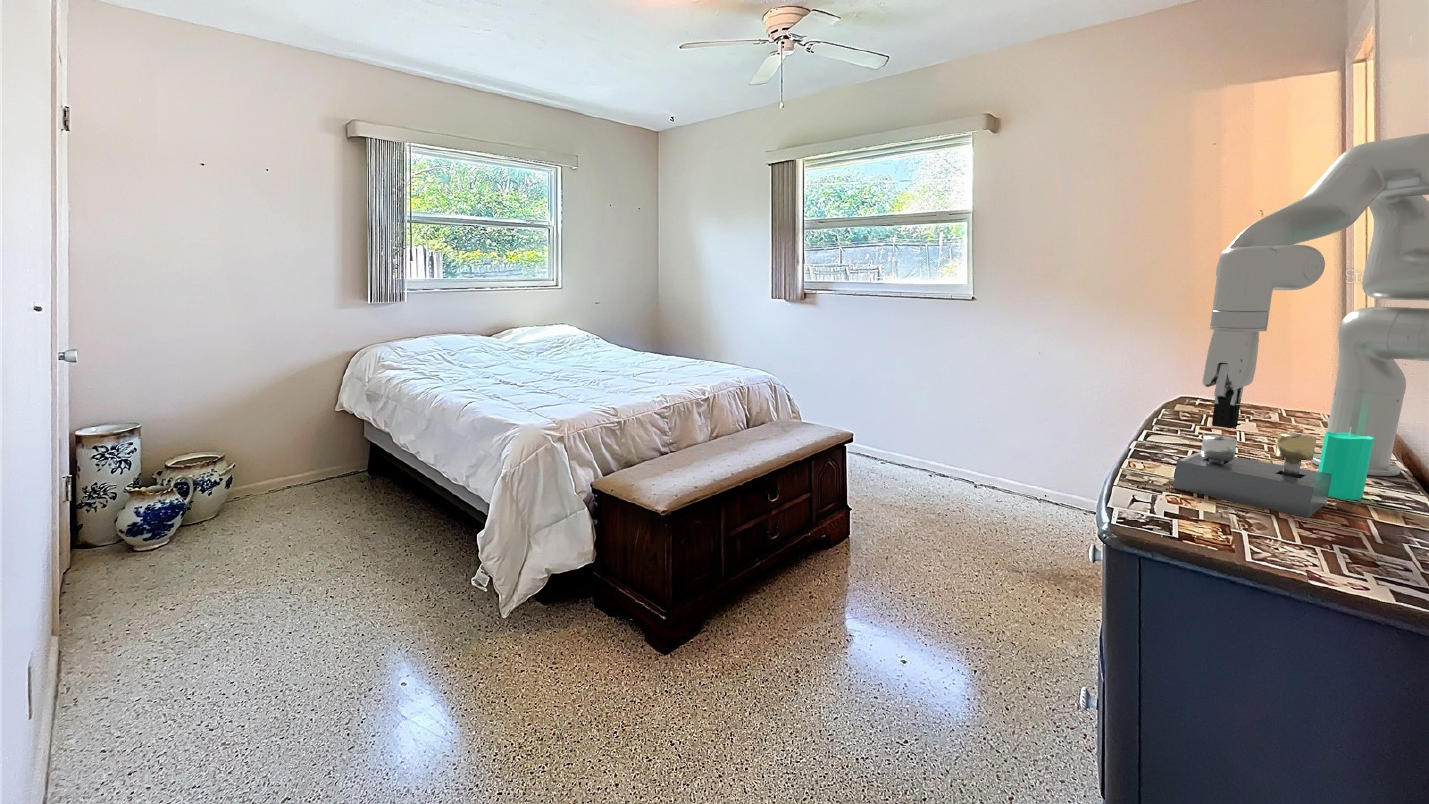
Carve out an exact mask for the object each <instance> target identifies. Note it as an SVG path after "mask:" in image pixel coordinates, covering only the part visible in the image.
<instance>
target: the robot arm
mask: <svg viewBox="0 0 1429 804" xmlns="http://www.w3.org/2000/svg"><path fill="white" fill-rule="evenodd" d="M1424 196H1429V133H1419V134H1415V135H1414V134H1412V135H1408V136H1407V135H1406V136H1400V137H1393V138H1387V139H1381V140H1376V141H1375V140H1374V141H1370V142H1365V143H1361V144H1358V145H1355V146H1353V147H1351V148H1349V149H1347V150H1345V151H1344V152H1343V153H1342V154H1341V155H1340V156H1338V158H1337V159H1336V160H1335V162H1333V163H1332V164H1331V165H1330V167H1329V168H1328V169H1327V170H1326V171H1325V172H1324V173H1323V175H1322V176H1321V177H1320V178H1319V179H1317V181H1316V183H1314V184H1313V186H1312V187H1311V188H1310V189H1309V190H1308V191H1307V193H1306V194H1305V195H1304V196H1303V197H1301V198H1300V199H1298V200H1297V201H1294V202H1292V203H1290V204H1287V205H1286V206H1284V207H1282V208H1280V209H1278V210H1276V211H1274V212H1273V213H1270V214H1268V215H1266V216H1264V217H1263V218H1260V219H1258V220H1257V221H1255V222H1253V223H1252V224H1250V225H1248V226H1247V228H1245V229H1244V230H1242V232H1240V233H1239V234H1238V235H1237V236H1236V237H1235V239H1233V241H1232V242H1231V243H1230V244H1229V245H1228V246H1227V248H1226V249H1224V250H1223V251H1222V252H1220V253H1221V254H1220V256H1219V259H1218V261H1217V265H1216V267H1215V268H1216V270H1215V276H1216V279H1215V286H1214V287H1215V288H1214V295H1213V302H1212V310H1211V317H1210V318H1211V319H1210V326H1209V330H1211V331H1213V332H1212V335H1211V338H1210V341H1209V346H1208V349H1207V355H1206V359H1205V361H1206V362H1205V366H1204V371H1203V375H1202V376H1203V377H1202V385H1203V387H1205V388H1209V387H1213V386H1215V389H1214V393H1213V395H1214V405H1213V412H1212V419H1211V425H1212V427H1216V428H1217V427H1218V428H1225V429H1235V428H1237V427H1238V424H1239V423H1238V422H1239V415H1240V409H1241V401H1242V396H1243V391H1244V387H1246V386H1248V385H1249V386H1250V385H1251V384H1252V383H1253V381H1254V378H1255V374H1256V367H1257V361H1258V351H1259V342H1260V332H1267V331H1268V325H1269V318H1270V311H1271V304H1272V299H1273V298H1272V296H1273V291H1297V290H1302V289H1305V288H1308V287H1310V286H1312V285H1313V284H1315V283H1316V282H1318V280H1320V278H1321V277H1322V275H1323V274H1324V271H1325V268H1326V260H1325V257H1324V255H1323V254H1322V253H1321V251H1320V250H1319V249H1317V248H1316V247H1313V246H1310V245H1305V244H1300V243H1305V242H1309V241H1312V240H1316V239H1319V238H1323V237H1327V236H1329V235H1332V234H1335V233H1338V232H1340V231H1343V230H1345V229H1347V228H1349V227H1350V226H1352V225H1353V224H1354V223H1355V222H1356V221H1357V220H1358V219H1359V218H1360V217H1361V215H1362V214H1363V213H1364V211H1365V212H1366V210H1367V208H1369V210H1370V212H1371V215H1372V218H1373V224H1374V225H1373V226H1374V227H1373V233H1372V238H1371V241H1370V246H1369V251H1368V254H1367V259H1366V263H1365V265H1364V266H1365V267H1364V271H1363V276H1362V282H1361V285H1362V291H1363V293H1364V294H1366V296H1368V297H1370V298H1374V299H1378V300H1379V299H1380V300H1390V301H1393V300H1394V301H1429V200H1428V199H1427V198H1425V197H1424ZM1337 335H1338V337H1337V339H1338V352H1339V353H1338V354H1339V355H1338V356H1339V357H1338V358H1339V359H1338V367H1337V368H1338V369H1337V373H1336V374H1337V375H1336V381H1335V387H1334V393H1333V397H1332V402H1331V408H1330V414H1329V418H1328V423H1327V429H1326V432H1333V433H1349V432H1350V427H1352V428H1351V434H1354V435H1357V436H1370V437H1373V438H1374V443H1373V448H1372V453H1371V458H1370V463H1369V468H1368V473H1367V476H1374V477H1375V476H1377V477H1394V476H1398V475H1400V474H1401V467H1400V466H1398V465H1396V464H1393V463H1391V459H1392V455H1393V449H1394V446H1395V441H1396V435H1397V430H1398V427H1399V421H1400V416H1401V412H1402V411H1401V410H1402V407H1403V402H1404V397H1405V394H1406V388H1407V379H1406V376H1405V374H1404V372H1403V370H1402V369H1401V368H1400V366H1399V365H1398V363H1397V362H1396V360H1407V361H1416V362H1417V361H1419V362H1429V307H1428V308H1427V307H1409V306H1408V307H1407V306H1405V307H1404V306H1403V307H1402V306H1370V307H1362V308H1359V309H1355V310H1353V311H1351V312H1349V313H1348V314H1346V315H1345V316H1344V317H1343V319H1342V320H1341V322H1340V323H1339V326H1338V334H1337ZM1320 458H1321V453H1314V456H1313V460H1310V462H1311V463H1313V464H1314V465H1317V466H1319V463H1320Z"/></svg>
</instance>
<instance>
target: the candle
mask: <svg viewBox="0 0 1429 804" xmlns="http://www.w3.org/2000/svg"><path fill="white" fill-rule="evenodd" d="M1351 428H1352V427H1350V432H1349V433H1333V432H1327V431H1326V432H1325V433H1324V437H1323V442H1322V447H1321V448H1322V449H1321V452H1320V454H1321V458H1320V463H1319V465H1318V472H1324V473H1329V474H1332V478H1331V484H1330V489H1329V494H1328V497H1331V498H1336V499H1341V500H1351V501H1354V500H1356V501H1357V500H1359V501H1360V500H1361V498H1362V499H1363V497H1364V492H1365V487H1366V482H1367V477H1368V475H1367V473H1368V468H1369V463H1370V458H1371V453H1372V448H1373V443H1374V438H1373V437H1370V436H1357V435H1354V434H1351Z"/></svg>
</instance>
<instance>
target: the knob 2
mask: <svg viewBox="0 0 1429 804" xmlns="http://www.w3.org/2000/svg"><path fill="white" fill-rule="evenodd" d="M1276 441H1277V442H1276V446H1275V452H1274V455H1275V456H1277V457H1280V458H1284V462H1283V465H1284V467H1283V472H1282V475H1285V476H1290V477H1296V478H1298V476H1299V471H1300V468H1301V466H1302V465H1301V464H1302V461H1311V460H1313V456H1314V455H1315V449H1316V444H1317V437H1316V436H1313V435H1309V434H1303V433H1298V432H1297V433H1295V432H1279V433H1278V436H1277V440H1276Z"/></svg>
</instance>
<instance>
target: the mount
mask: <svg viewBox="0 0 1429 804" xmlns="http://www.w3.org/2000/svg"><path fill="white" fill-rule="evenodd" d="M1175 464H1176V465H1175V473H1174V478H1173V485H1172V486H1173V487H1172V489H1175V488H1176V489H1175V490H1179V489H1180V490H1179V491H1184V490H1185V492H1188V491H1190V492H1189V493H1193V492H1194V494H1196V495H1197V494H1198V495H1202V494H1204V495H1203V496H1206V495H1207V497H1211V498H1216V499H1220V500H1225V501H1229V502H1234V503H1239V504H1243V505H1247V506H1252V507H1256V508H1262V509H1265V510H1270V511H1274V512H1279V513H1282V514H1287V515H1292V516H1296V517H1302V518H1304V519H1305V518H1306V519H1309V518H1310V517H1311V516H1312V515H1314V514H1315V513H1316V512H1318V511H1319V510H1320V509H1321V508H1322V507H1324V506H1325V505H1326V504H1327V503H1328V499H1329V496H1328V494H1329V489H1330V484H1331V478H1332V474H1329V473H1324V472H1318V471H1317V470H1311V469H1305V468H1301V467H1300V471H1299V476H1298V478H1296V477H1290V476H1285V475H1282V472H1283V467H1284V464H1278V463H1277V464H1276V463H1272V462H1267V461H1262V460H1261V461H1260V460H1255V459H1250V458H1249V459H1248V458H1245V457H1244V458H1243V457H1239V456H1234V460H1232V461H1224V462H1223V464H1221V463H1215V462H1210V461H1209V458H1205V457H1202V456H1201V450H1200V451H1197V452H1195V453H1192V454H1191V455H1188V456H1186V457H1183V458H1180V459H1179V460H1176V463H1175Z"/></svg>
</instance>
